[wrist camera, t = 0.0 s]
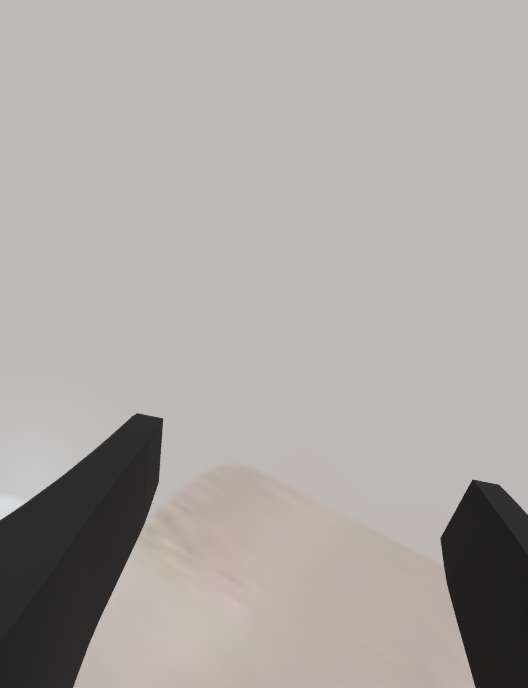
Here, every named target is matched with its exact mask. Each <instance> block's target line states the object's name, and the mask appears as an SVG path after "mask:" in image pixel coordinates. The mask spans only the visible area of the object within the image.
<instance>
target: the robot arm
mask: <svg viewBox="0 0 528 688" xmlns="http://www.w3.org/2000/svg"><path fill="white" fill-rule="evenodd" d="M162 427H163V418H158V417H153V416H147V415H143V414H136V415H134V416H132V417H131V418H130V419H129V420H128V421H127V422H126V423H125V424H123V426H121V427H120V428H119V429H118V430H117V431H116V432H115V433H113V434H112V435H111V436H110V437H109V438H108V439H107V440H105V441H104V442H103V443H102V444H101V445H100V446H98V447H97V448H96V449H95V450H94V451H93V452H92V453H90V454H89V455H88V456H87V457H85V458H84V459H83V460H82V461H80V462H79V463H78V464H77V465H75V466H74V467H73V468H72V469H71V470H69V471H68V472H67V473H66V474H64V475H63V476H62V477H60V478H59V479H58V480H56V481H55V482H54V483H52V484H51V485H50V486H48V487H47V488H46V489H44V490H43V491H41V492H40V493H39V494H37V495H36V496H35V497H33V498H32V499H31V500H29V501H28V502H27V503H25V504H24V505H22V506H21V507H19V508H18V509H16V510H15V511H13V512H12V513H11V514H9V515H8V516H6V517H5V518H3V519H2V520H0V688H73V686H74V683H75V680H76V678H77V675H78V672H79V670H80V667H81V664H82V662H83V659H84V656H85V654H86V651H87V648H88V646H89V643H90V641H91V638H92V636H93V634H94V631H95V629H96V627H97V624H98V622H99V620H100V617H101V615H102V613H103V611H104V609H105V607H106V605H107V603H108V600H109V598H110V596H111V594H112V592H113V590H114V588H115V586H116V583H117V581H118V579H119V577H120V575H121V573H122V571H123V569H124V567H125V564H126V562H127V560H128V558H129V556H130V554H131V552H132V549H133V547H134V545H135V543H136V541H137V539H138V537H139V534H140V532H141V530H142V528H143V526H144V524H145V521H146V518H147V515H148V512H149V509H150V506H151V504H152V500H153V497H154V495H155V492H156V489H157V486H158V482H159V470H160V469H159V468H160V454H161V440H162ZM441 546H442V553H443V561H444V568H445V574H446V580H447V585H448V589H449V593H450V597H451V601H452V604H453V608H454V612H455V615H456V619H457V623H458V626H459V630H460V633H461V637H462V641H463V644H464V648H465V651H466V655H467V658H468V662H469V666H470V669H471V673H472V676H473V680H474V683H475V687H476V688H528V515H527V514H526V513H525V512H524V510H523V509H522V508H521V507H520V506H519V505H518V504H517V503H516V502H515V501H514V500H513V499H512V498H511V496H509V494H508V493H507V492H506V491H505V490H504V489H503V488H501V486H500V485H497V484H492V483H487V482H481V481H477V480H472V482H471V484H470V485H469V487H468V489H467V491H466V493H465V494H464V496H463V498H462V500H461V502H460V504H459V505H458V507H457V509H456V511H455V513H454V515H453V516H452V518H451V520H450V522H449V524H448V525H447V527H446V529H445V531H444V533H443V535H442V537H441Z"/></svg>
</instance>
